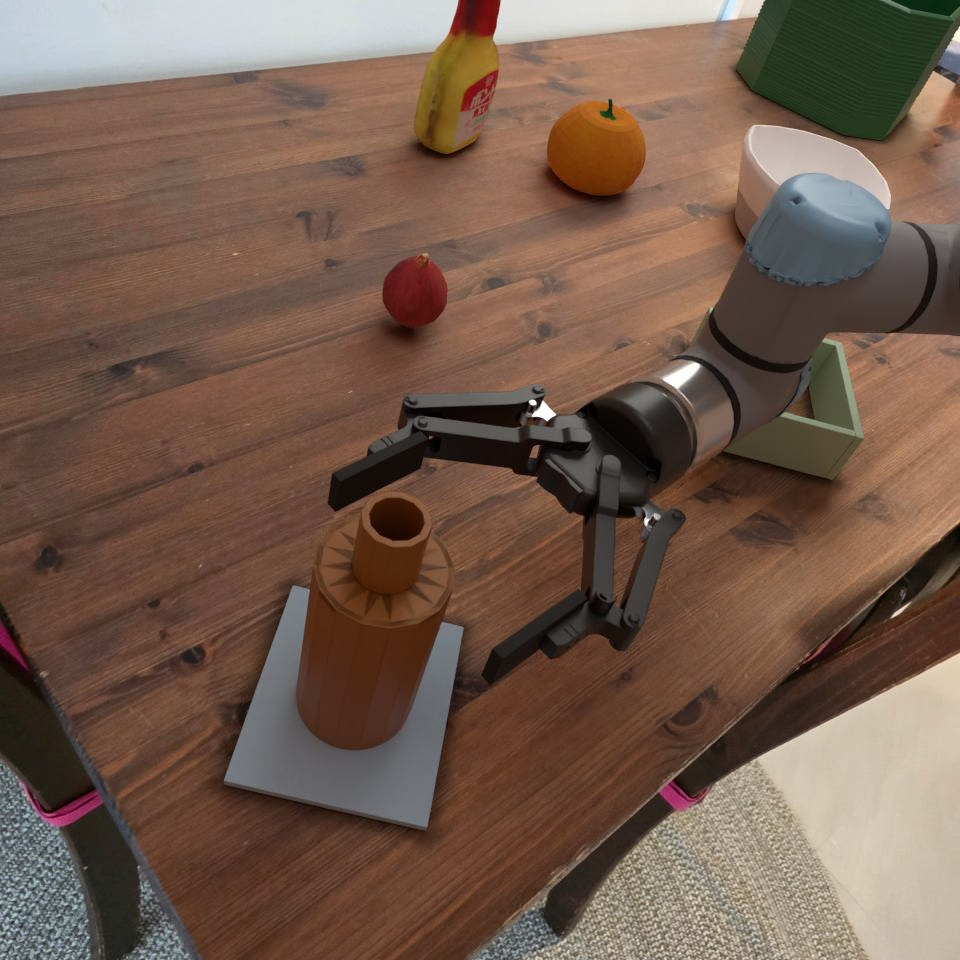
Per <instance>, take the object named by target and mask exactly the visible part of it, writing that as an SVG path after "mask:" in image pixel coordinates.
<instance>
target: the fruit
mask: <svg viewBox="0 0 960 960" xmlns="http://www.w3.org/2000/svg"><path fill="white" fill-rule="evenodd" d="M607 101H608V102H606V101H600V100H587V101H585V102H581V103H579V104H576V105H574V106H572V107H571V108H569V109H567V110H566V111H565V112H564V113H563V114H562V115H560V116H559V118H557V120H556V121H555V122H554V124H553V125H552V127H551V129H550V132H549V135H548V140H547V146H546V157H547V161H548V164H549V166H550V169H551V170H552V172H553V174H554V175H555V176H556V177H557V178H558V179H559V180H560V181H561V182H562V183H563V184H565V185H567V186H568V187H570V189H573V190H576V191H577V192H580V193H583V194H587V195H591V196H600V197H604V196H614V195H617V194H620V193H622V192H624V191H627V190H628V189H629V188H630V187H631V186H633V184H634V183H635V182H636V180H637V179H638V178H639V176H640V175H641V174H642V171H643V169H644V166H645V163H646V156H647V145H646V139H645V135H644V133H643V131H642V129H641V126H640V125H639V123H638V121H637V120H636V118H635V116H633V115H632V114H631V113H630V112H629V111H628V110H625V109H624V108H622V107H620V106H618V105H615V104H614V103H613V99H612V98H608V99H607Z"/></svg>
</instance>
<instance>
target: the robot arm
mask: <svg viewBox="0 0 960 960" xmlns="http://www.w3.org/2000/svg"><path fill="white" fill-rule="evenodd" d="M831 333H843V334H850V333H851V334H852V333H853V334H885V335H888V334H889V335H890V334H907V335H915V334H916V335H933V336H934V335H935V336H936V335H937V336H952V337H960V222H955V223H936V222H935V223H934V222H933V223H931V222H910V221H904V220H903V221H902V220H897V219H892V217H891V215H890V212H889V213H888V211H887V209H886V208H885V206H884V205H883V204H882V203H881V202H880V200H878V199H877V198H876V197H875V196H874V195H873V194H871V193H870V192H868V191H867V190H865V189H864V188H862V187H860V186H858V185H856V184H854V183H852V182H850V181H848V180H845V181H841V180H838V179H836V178H834V177H833V176H831V175H828V174H822V173H804V174H799V175H796V176H793V177H791V178H789V179H787V180H786V181H785V182H783V183H782V184H781V185H780V186H779V188H778V189H777V190H776V192H775V194H774V195H773V197H772V198H771V200H770V201H769V203H768V204H767V205H766V207H765V208H764V210H763V212H762V214H761V215H760V217H759V219H758V220H757V222H756V223H755V224H754V225H753V227H752V229H751V230H750V232H749V234H748V236H747V240H746V239H745V242H744V246H743V248H742V250H741V252H740V255H739V257H738V259H737V261H736V263H735V265H734V267H733V269H732V271H731V273H730V275H729V277H728V280H727V282H726V283H725V285H724V287H723V290H722V292H721V294H720V296H719V298H718V301H717V302H716V303H715V304H714V306H713V310H712V311H711V313H710V315H709V316H708V318H707V320H706V322H705V324H704V326H703V328H702V330H701V332H700V334H699V336H698V338H697V340H696V341H695V343H694V344H693V345H692V347H691V348H690V349H688V348H687V349H688V350H687V349H686V350H685V351H683V352H682V353H680V354H678V355H676V356H674V357H672V358H670V359H669V360H667V361H664V362H662V363H660V364H659V365H656V366H655V367H653V368H651V369H649V370H647V371H645V372H643V373H641V374H639V375H637V376H635V377H633V378H630V379H629V380H627V381H626V382H625V383H623V384H620V385H618V386H616V387H614V388H613V389H611V390H609V391H607V392H605V393H603V394H601V395H598V396H597V397H596V398H593V399H592V400H590V401H588V402H587V403H585V404H584V405H583V406H581V407H579V409H578V410H576V411H574V412H573V413H568V414H556V413H555V411H553V410H552V408H550V406H549V405H548V404H547V403H546V402H545V401H544V399H545V396H546V394H547V391H546V389H545V387H544V386H543V385H540V384H538V383H531V384H529V385H526V386H522V387H520V388H518V389H515V390H504V391H502V390H501V391H472V392H471V391H469V392H468V391H467V392H438V393H435V392H434V393H412V394H411V393H410V394H406V395H404V396H403V398H402V403H401V407H400V411H399V416H398V421H397V426H396V427H397V430H396V431H393V432H391V433H389V434H387V435H386V436H383V437H381V438H378V439H376V440H374V441H372V442H371V443H370V445H368V446H367V450H366V455H365V457H362V458H361V459H359V460H357V461H354V462H352V463H350V464H348V465H345V466H344V467H342V468H340V469H337V470H335V471H332V473H331V477H330V484H329V490H328V498H327V504H328V506H329V507H330V508H331V509H332V511H333V512H335V513H336V512H338V511H340V510H342V509H345V508H346V507H348V506H350V505H352V504H354V503H356V502H358V501H360V500H361V499H364V498H366V497H367V496H370V495H371V494H374V493H376V492H378V491H380V490H381V489H383V488H386V487H388V486H389V485H391V484H393V483H395V482H397V481H399V480H402V479H403V478H406V477H407V476H410V475H412V474H413V473H416V472H417V471H419V470H420V469H421V468H422V466H423V461H424V459H433V460H441V461H449V462H458V463H463V464H465V463H466V464H474V465H480V466H481V465H482V466H487V467H488V466H491V467H496V468H505V469H510V470H512V472H513V473H514V474H515V475H517V476H527V477H533V478H534V477H535V478H536V480H535V482H536V483H537V484H538V485H539V487H541V488H542V489H543V490H544V491H546V492H547V493H550V494H551V495H552V496H554V497H555V498H556V500H557V501H558V502H559V505H560V506H561V507H562V508H563V509H564V510H565V511H566V512H567V513H568V514H570V515H571V514H572V513H574V514H576V515H578V516H582V527H581V528H582V531H581V540H583V548H582V565H581V579H580V580H581V581H580V588H577V589H575V590H573V592H571V593H570V594H568V595H567V596H565V597H564V598H562V599H561V600H560V601H558V602H557V603H555V604H554V605H553V606H551V607H549V608H548V609H547V610H545V611H544V612H542V613H541V614H540V615H538V616H537V617H535V618H534V619H532V620H531V621H530V622H528V623H527V624H526V625H524V626H522V627H521V628H519V630H517V631H515V632H513V634H511V635H510V636H508V637H507V638H506V639H504V640H502V641H501V642H499V643H498V644H497V645H495V646H494V647H492V649H491V651H490V653H489V656H488V658H487V660H486V663H485V665H484V667H483V669H482V670H481V674H480V676H481V677H482V678H483V679H484V680H485V681H486V683H487V684H488V685H489V686H492V685H493V684H495V683H496V682H498V681H499V680H501V678H503V677H504V676H506V675H507V674H508V673H510V672H511V671H512V670H514V669H515V668H516V667H518V666H519V665H521V664H522V663H523V662H525V661H526V660H527V659H529V658H531V656H533V655H534V654H535V653H537V652H538V651H539V650H541V652H542V653H543V654H544V655H545V656H546V657H547V658H548V659H549V661H552V660H556V659H560V658H562V656H564V655H565V654H566V653H568V652H569V651H570V650H572V649H573V648H574V647H576V646H577V645H578V644H580V643H582V642H583V641H584V640H585V639H586V638H588V637H590V636H591V635H597V636H601V637H603V638H605V639H607V640H608V643H609V645H610V647H611V648H612V649H614V650H615V651H618V652H626V651H627V650H628V649H629V648H630V646H631V644H632V643H633V642H634V640H635V639H636V637H637V636H638V635H639V633H640V631H641V629H642V628H643V627H644V624H645V621H646V619H647V615H648V612H649V609H650V605H651V602H652V599H653V595H654V592H655V589H656V585H657V583H658V579H659V576H660V572H661V569H662V566H663V563H664V560H665V556H666V553H667V549H669V548H670V547H671V545H672V544H673V542H674V540H675V539H676V538H677V536H678V534H679V533H680V532H681V529H682V527H683V526H684V524H685V523H686V521H687V516H686V514H685V513H684V512H683V511H682V510H680V509H679V508H670V509H668V510H667V511H665V510H663V509H662V508H661V507H660V506H658V505H657V504H656V503H654V502H653V501H652V499H653V498H654V497H656V496H658V495H659V494H661V493H662V492H664V491H665V490H667V489H668V488H670V487H671V486H673V485H674V484H676V483H677V482H679V481H680V480H681V479H682V478H683V477H686V476H688V474H690V473H692V472H693V471H695V470H697V469H698V468H700V467H701V466H703V465H704V464H706V463H707V462H709V461H710V460H712V459H713V458H715V457H717V456H718V455H719V454H721V453H722V452H724V451H723V450H725V449H726V448H728V447H729V446H731V445H732V444H734V443H735V442H737V441H739V440H740V439H742V438H743V437H745V436H747V435H748V434H750V433H751V432H753V431H754V430H756V429H758V428H759V427H761V426H762V425H764V424H767V423H770V422H771V421H772V420H773V419H774V418H778V417H780V416H781V415H782V414H783V413H784V412H787V410H788V409H789V408H791V406H792V405H793V404H794V403H795V402H797V401H798V400H799V399H800V398H801V397H802V396H803V394H804V393H805V391H806V390H807V388H808V387H807V386H808V384H809V381H810V375H811V361H812V360H811V357H812V356H813V354H814V353H815V351H816V350H817V348H818V347H819V345H820V344H821V342H822V341H823V339H824V338H826V337H827V336H828V334H831ZM536 446H538V450H537V454H536V457H530V456H531V454H532V451H533V449H534V447H536ZM634 518H637V519H638V521H639V523H640V525H639V527H638V534H639V537H638V538H639V542H641V543H642V545H641V547H640V548H639V550H638V552H637V554H636V556H635V559H634V562H633V565H632V568H631V571H630V574H629V577H628V580H627V583H626V585H625V588H624V592H623V594H622V598H621V600H620V603H619V606H617V605H615V603H616V601H617V600H618V595H615V596H614V589H615V588H614V586H615V585H614V584H615V555H616V554H615V553H616V524H617V523H616V522H617V519H625V520H626V519H627V520H628V519H629V520H630V519H634Z"/></svg>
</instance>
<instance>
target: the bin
mask: <svg viewBox="0 0 960 960" xmlns="http://www.w3.org/2000/svg"><path fill="white" fill-rule="evenodd" d="M713 308H714V306H713V307H712V306H709V307H708V308H707V310H706V312H705V314H704V316H703V318H702V320H701V322H700V324H699V326H698V328H697V329H696V331H695V334H694V336H693V338H692V339H691V342H690V343H689V346H688V348H687V349H686V351H687V350H688V349H690V348H691V347H692V345H693V344H694V343H695V341H696V340H697V338H698V336H699V334H700V332H701V330H702V328H703V326H704V324H705V322H706V320H707V318H708V316H709V315H710V313H711V311H712V310H713ZM811 360H812V361H811V375H810V381H809V384H808V386H807V388H808V392H809V397H810V403H811V406H812V407H811V409H812V413H813V418H808V417H804V416H800V415H797V414H793V413H789V412H787V411H785V412H784V413H783V414H782V415H781V416H780V417H778V418H774V419H773V420H772V421H771V422H770V423H767V424H764V425H762V426H761V427H759V428H758V429H756V430H754V431H753V432H751V433H750V434H748V435H747V436H745V437H743V438H742V439H740V440H739V441H737V442H735V443H734V444H732V445H731V446H729V447H728V448H726V449H725V450H723V451H722V452H724V453H728V454H731V455H736V456H739V457H742V458H747V459H751V460H754V461H759V462H763V463H766V464H770V465H774V466H776V467H777V466H778V467H781V468H785V469H789V470H793V471H796V472H800V473H804V474H807V475H811V476H816V477H819V478H823V479H827V480H829V481H833V480H834V479H835V477H836V476H837V475H838V474H839V473H840V471H841V470H842V469H843V467H844V466H846V463H847V462H848V461H849V460H850V458H851V457H852V456H853V454H854V453H855V452H856V450H858V448H859V446H861V444H862V443H863V442H864V440H865V435H864V432H863V431H864V430H863V428H862V423H861V418H860V414H859V409H858V405H857V401H856V396H855V392H854V389H853V388H854V387H853V384H852V378H851V375H850V370H849V366H848V361H847V358H846V354H845V349H844V343H842V342H839V341H836V340H834V339H830V338H827V337H825V338H824V339H823V341H822V342H821V344H820V345H819V347H818V348H817V350H816V351H815V353H814V354H813V356H812V357H811Z"/></svg>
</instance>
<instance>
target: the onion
mask: <svg viewBox="0 0 960 960" xmlns="http://www.w3.org/2000/svg"><path fill="white" fill-rule="evenodd" d="M448 292H449V287H448V283H447V281H446V279H445V276H444V274H443V272H442V271H441V269H440V268H439V267H438V266H437V265H436V264H435V263H434V262H433V261H431V260H430V256H429V253H427V252H423V253H420V254H419V255H414V256H413V255H412V256H410V257H408V258H404V259H402V260H400V261H398V262H397V263H396V264H395V265H394V266H393V267H392V268H391V269H390V270H389V271H388V272H387V274H386V276H385V277H384V280H383V283H382V291H381V297H382V299H381V300H382V303H383V305H384V307H385V309H386V311H387V312H388V314H389V315H390V316H391V317H392V318H393V319H394V320H395V321H396V322H398V323H399V324H401V325H403V326H404V327H405V328H407V329H414V328H421V327H425V326H427V325H430V324H432V323H435V321H436V320H437V319H438V318H439V317H440V316H441V315H442V313H443V312H445V309H446V306H447V304H448Z"/></svg>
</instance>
